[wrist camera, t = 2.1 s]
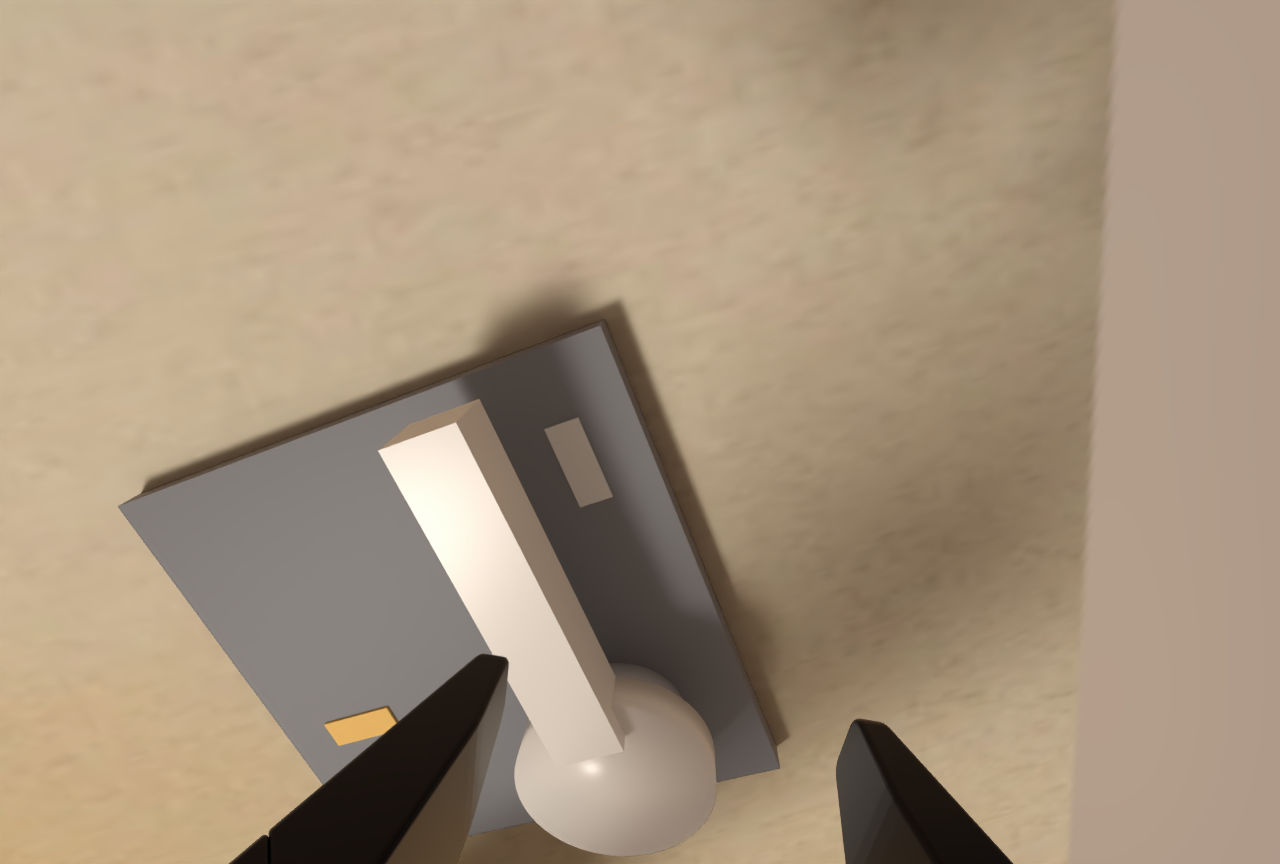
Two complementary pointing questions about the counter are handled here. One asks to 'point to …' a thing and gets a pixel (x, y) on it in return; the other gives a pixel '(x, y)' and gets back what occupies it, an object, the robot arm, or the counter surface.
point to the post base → (416, 580)
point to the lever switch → (553, 654)
